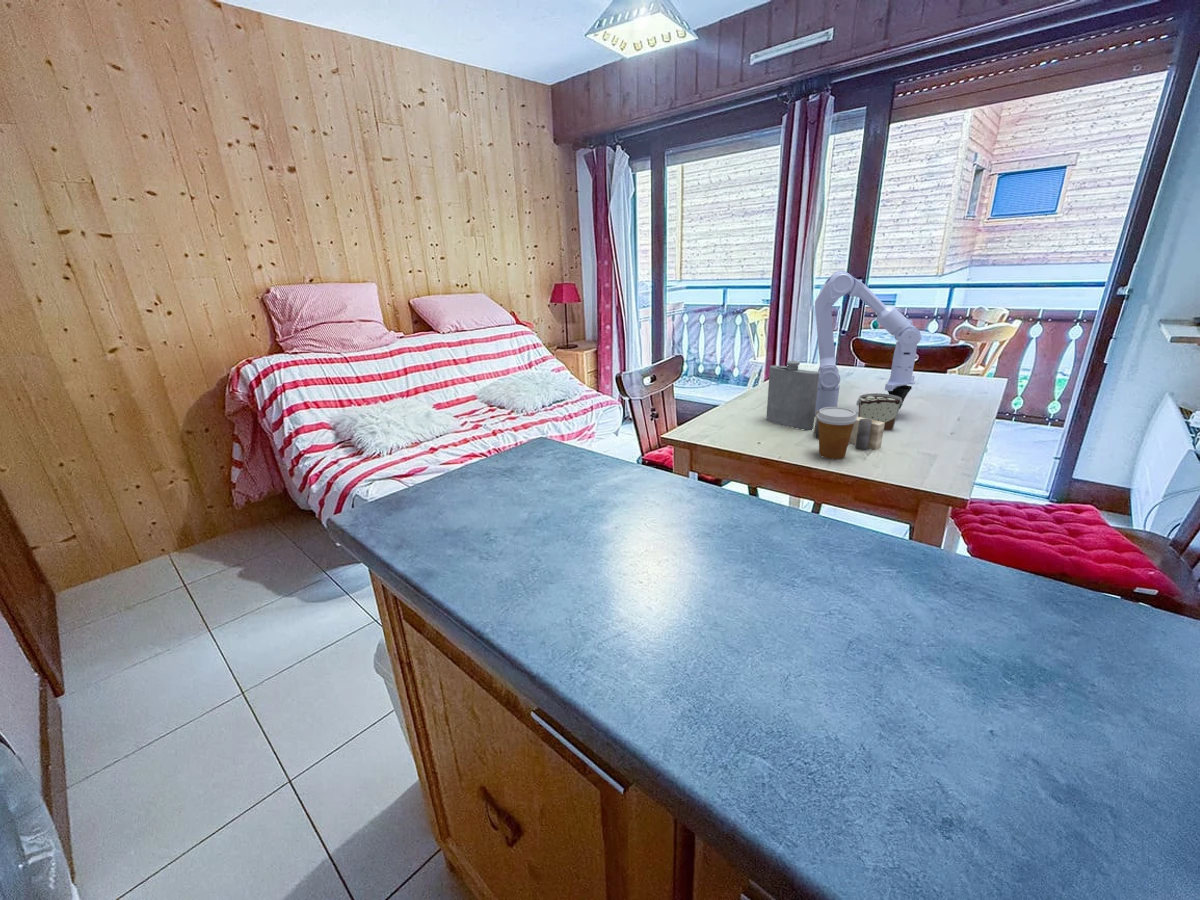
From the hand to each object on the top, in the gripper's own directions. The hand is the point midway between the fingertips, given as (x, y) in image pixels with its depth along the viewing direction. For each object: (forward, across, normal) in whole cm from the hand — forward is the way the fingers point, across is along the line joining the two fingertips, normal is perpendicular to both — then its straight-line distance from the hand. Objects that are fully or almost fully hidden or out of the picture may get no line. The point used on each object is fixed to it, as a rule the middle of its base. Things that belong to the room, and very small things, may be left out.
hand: (895, 408), depth 157 cm
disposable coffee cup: (+3, -41, -3) cm, 41 cm away
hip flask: (+3, -28, +19) cm, 34 cm away
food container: (+3, -14, 0) cm, 14 cm away
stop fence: (+3, -30, 0) cm, 30 cm away
